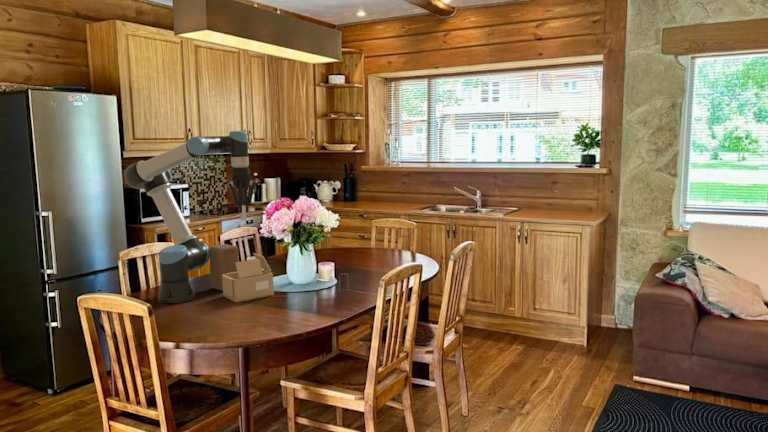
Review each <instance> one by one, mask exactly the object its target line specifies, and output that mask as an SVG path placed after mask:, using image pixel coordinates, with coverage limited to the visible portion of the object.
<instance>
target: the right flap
mask: <svg viewBox="0 0 768 432" xmlns="http://www.w3.org/2000/svg"><path fill="white" fill-rule="evenodd" d="M254 256H255V258H256V259H259V260H260V264H261V268H262V269H264V270H265V271H268V272H270V273H272V269H271V267H270V265H269V264H268V262H267V260H266V258H265V256H264V255H261V254H258V253H255V252H253V257H254Z"/></svg>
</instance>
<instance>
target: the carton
mask: <svg viewBox="0 0 768 432" xmlns="http://www.w3.org/2000/svg"><path fill="white" fill-rule="evenodd" d="M262 272H263V274H260V275H255V276H249V277H243V278H239V276H238V272H231V273H227V274H222V283H223V291H222V293H223V294H222V295H223V297H224V298H226V299H228V300H230V301H232V302H233V303H241V302H247V301H251V300H257V299H261V298H267V297H271V296H274V295H275V291H274V274H273V273H272V272H270V271H268V270H265V269H264V270H262Z"/></svg>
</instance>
